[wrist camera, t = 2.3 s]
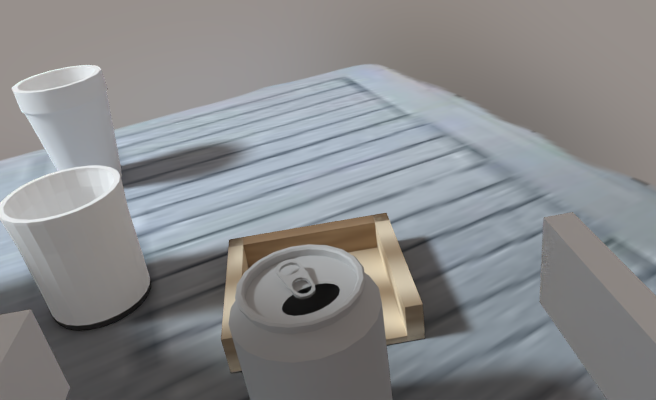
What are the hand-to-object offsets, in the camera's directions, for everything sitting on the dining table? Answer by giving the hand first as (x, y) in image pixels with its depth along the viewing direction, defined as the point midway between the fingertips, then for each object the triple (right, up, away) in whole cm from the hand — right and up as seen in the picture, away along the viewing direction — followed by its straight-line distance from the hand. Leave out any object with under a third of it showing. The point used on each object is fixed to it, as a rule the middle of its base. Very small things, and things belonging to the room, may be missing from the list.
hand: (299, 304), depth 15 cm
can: (+1, -12, +18) cm, 21 cm away
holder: (0, -5, +29) cm, 29 cm away
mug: (-19, -6, +34) cm, 39 cm away
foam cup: (-27, +5, +55) cm, 61 cm away
